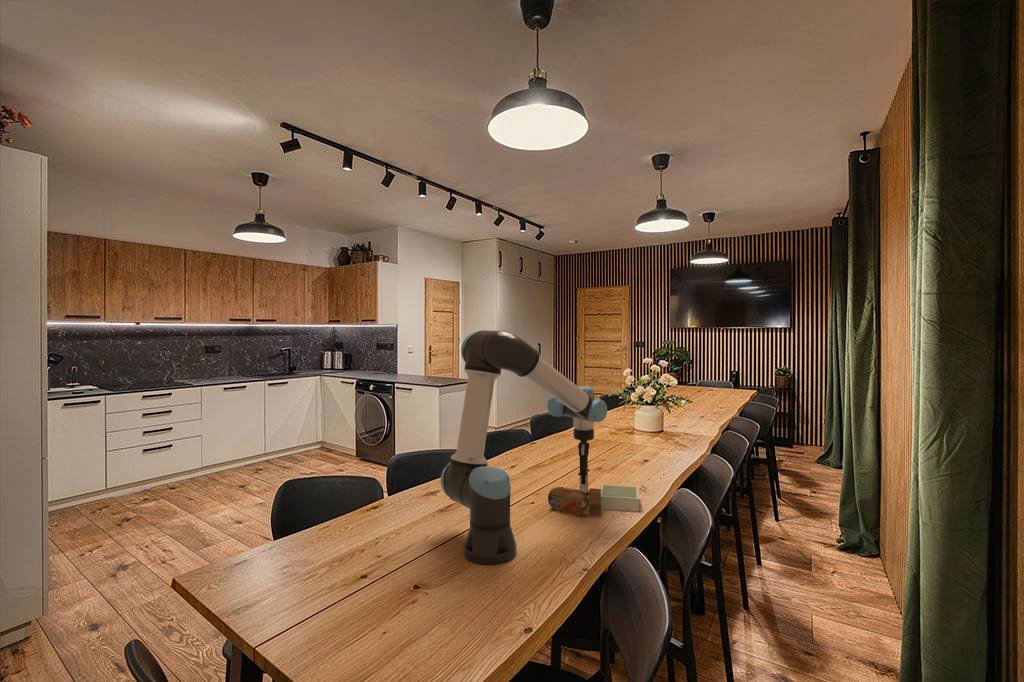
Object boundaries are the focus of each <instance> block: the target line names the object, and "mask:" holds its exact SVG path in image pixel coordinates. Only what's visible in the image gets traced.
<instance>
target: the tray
mask: <svg viewBox="0 0 1024 682" xmlns="http://www.w3.org/2000/svg"><path fill="white" fill-rule="evenodd" d="M600 489H601V510H608V509H610V511H622V510H630V511H629V512H636V511H639V512H640V497H639V496H640V495H639V492H638V486H631V485H629V486H628V485H613V484H612V485H611V484H601V488H600Z"/></svg>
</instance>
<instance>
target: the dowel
mask: <svg viewBox="0 0 1024 682" xmlns="http://www.w3.org/2000/svg"><path fill="white" fill-rule="evenodd" d="M588 469H589V468H588ZM588 469H587V493H585V494H586V495H587V496H588V490H589V472H588Z"/></svg>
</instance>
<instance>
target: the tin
mask: <svg viewBox="0 0 1024 682" xmlns="http://www.w3.org/2000/svg"><path fill="white" fill-rule="evenodd" d="M576 489H577V488H569V487H564V486H557V487H556V486H555V487H554V488H552V489H550V490H549V493H548V495H547V500H548V501H547V502H548V504H549V506H550V508H551V509H552V510H553V511H555V512H557V511H559V513H562V512H563V513H564V514H567V513H568V514H569V515H573V516H581V515H583V514H585V513H586V511H588V510H589V499H588V497H587V495H586V494H585V493H584V492H583V491H581V490H576Z"/></svg>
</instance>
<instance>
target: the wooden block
mask: <svg viewBox="0 0 1024 682" xmlns="http://www.w3.org/2000/svg"><path fill="white" fill-rule="evenodd" d="M588 490H589V507H588V515H589V516H599V517H600V516H601V515H602V509H601V488H592V487H591V488H590V487H588Z"/></svg>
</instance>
